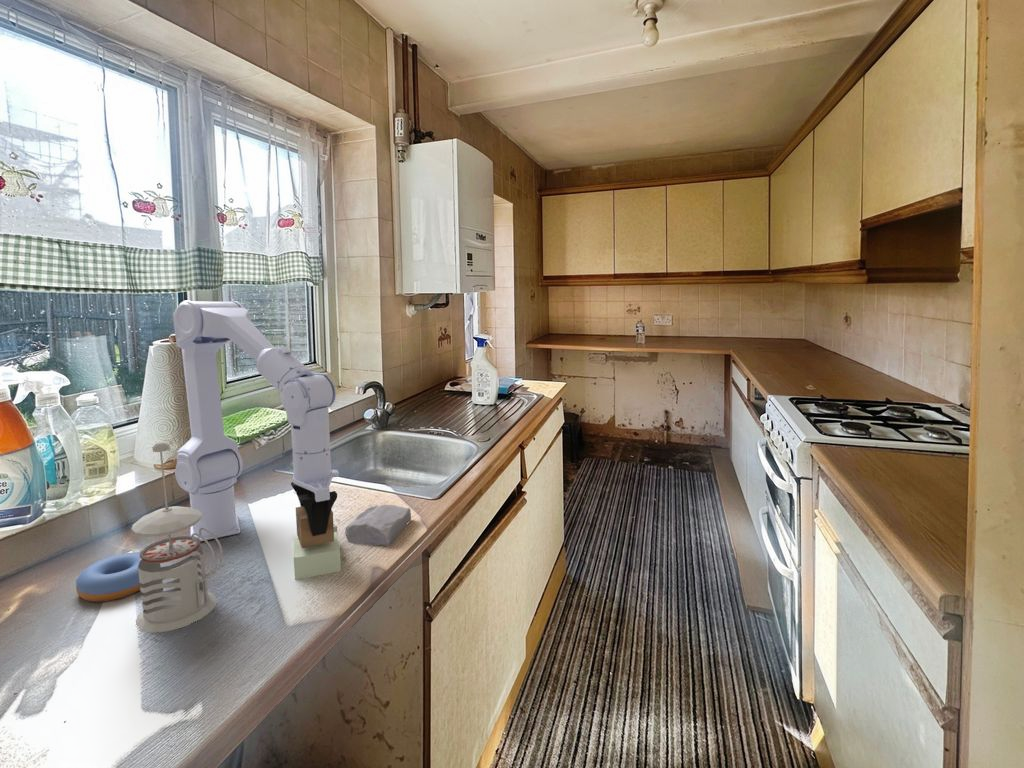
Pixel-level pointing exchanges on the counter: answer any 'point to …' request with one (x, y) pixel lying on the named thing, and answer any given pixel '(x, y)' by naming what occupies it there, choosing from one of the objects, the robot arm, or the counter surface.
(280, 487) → the counter surface
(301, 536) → the walnut cube
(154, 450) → the french press
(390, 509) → the stone block
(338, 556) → the sage block
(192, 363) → the robot arm
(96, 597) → the doughnut
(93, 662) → the counter surface
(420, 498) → the counter surface
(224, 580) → the counter surface
